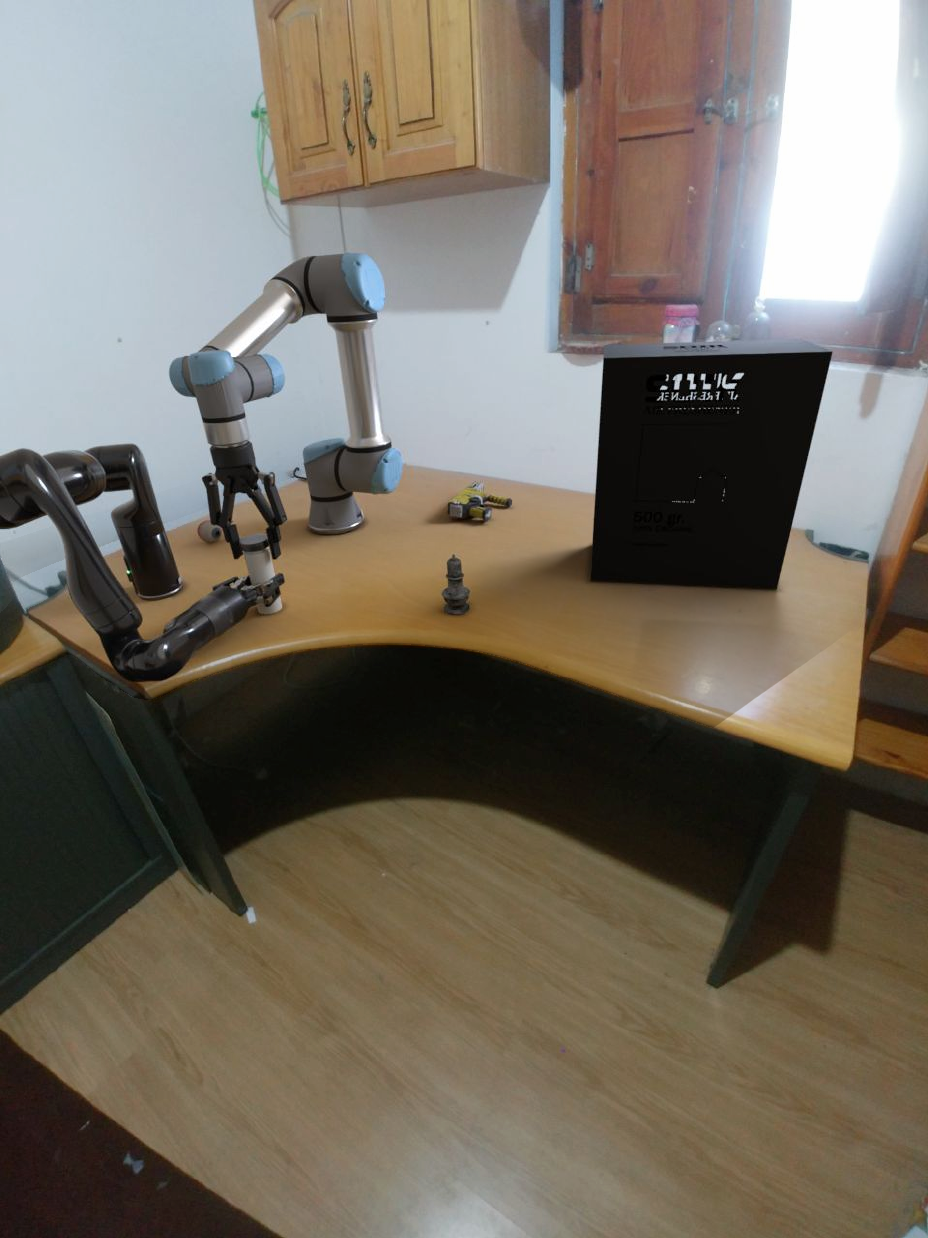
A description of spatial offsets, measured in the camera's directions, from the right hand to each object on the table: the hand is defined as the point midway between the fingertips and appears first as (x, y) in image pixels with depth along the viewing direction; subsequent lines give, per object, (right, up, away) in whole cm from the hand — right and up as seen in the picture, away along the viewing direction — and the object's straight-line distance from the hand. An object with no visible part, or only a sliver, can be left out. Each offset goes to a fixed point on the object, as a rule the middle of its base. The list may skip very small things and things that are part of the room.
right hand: (257, 556), depth 122 cm
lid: (0, +3, -2) cm, 4 cm away
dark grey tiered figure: (+40, -11, +2) cm, 42 cm away
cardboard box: (+90, -1, +14) cm, 91 cm away
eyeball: (-26, +8, +41) cm, 49 cm away
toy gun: (+48, +19, +53) cm, 74 cm away
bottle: (+1, -11, +6) cm, 12 cm away
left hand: (+1, -4, +5) cm, 6 cm away
